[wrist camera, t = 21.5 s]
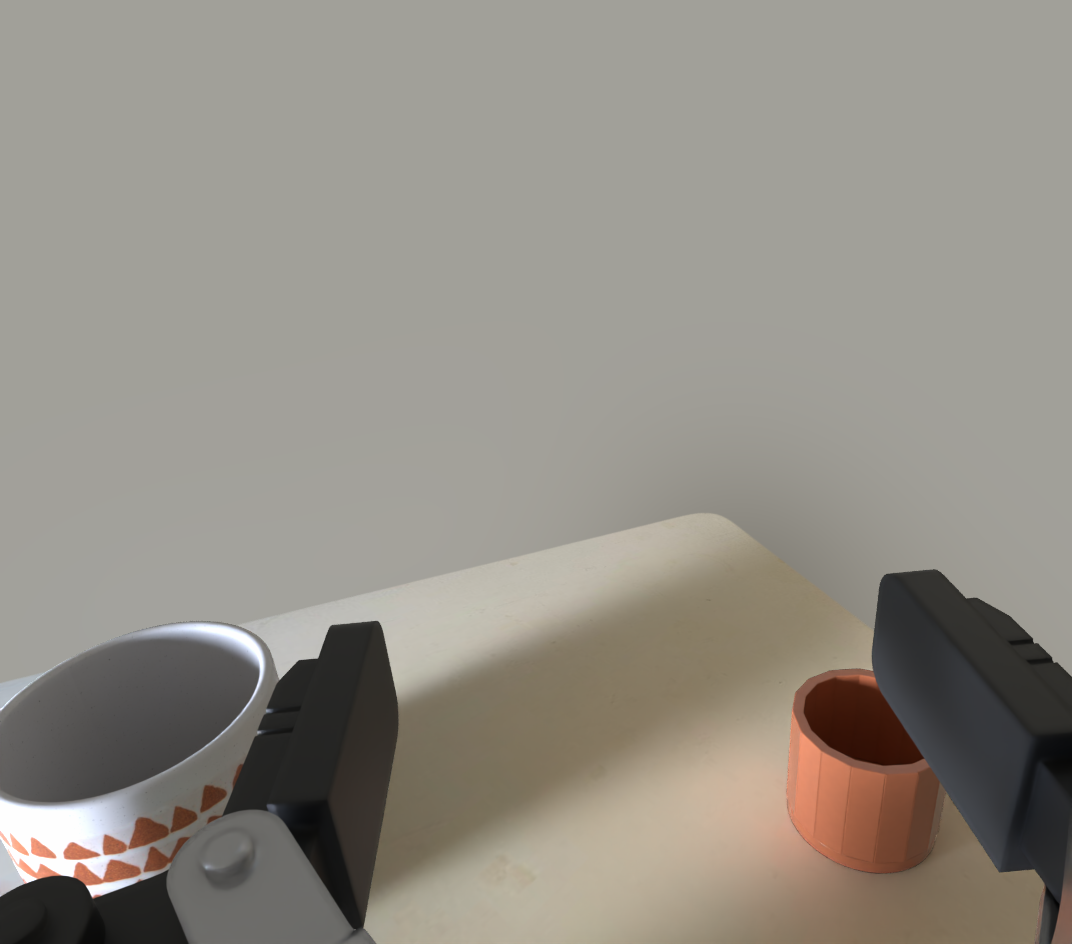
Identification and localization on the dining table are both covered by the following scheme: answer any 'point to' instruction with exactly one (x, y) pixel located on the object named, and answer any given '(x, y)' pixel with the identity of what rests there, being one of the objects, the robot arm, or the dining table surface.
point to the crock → (859, 776)
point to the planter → (129, 750)
